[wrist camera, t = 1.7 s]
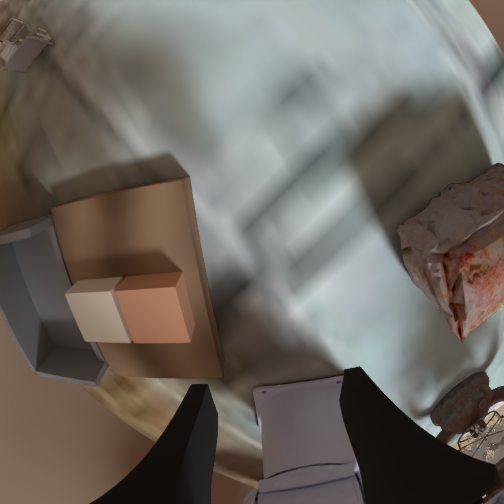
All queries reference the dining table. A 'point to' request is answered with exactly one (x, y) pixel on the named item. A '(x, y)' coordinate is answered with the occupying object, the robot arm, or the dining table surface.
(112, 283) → the tile cream
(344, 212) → the dining table surface
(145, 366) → the walnut plate
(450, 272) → the food item
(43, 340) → the box
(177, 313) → the tile terracotta
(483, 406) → the lantern
